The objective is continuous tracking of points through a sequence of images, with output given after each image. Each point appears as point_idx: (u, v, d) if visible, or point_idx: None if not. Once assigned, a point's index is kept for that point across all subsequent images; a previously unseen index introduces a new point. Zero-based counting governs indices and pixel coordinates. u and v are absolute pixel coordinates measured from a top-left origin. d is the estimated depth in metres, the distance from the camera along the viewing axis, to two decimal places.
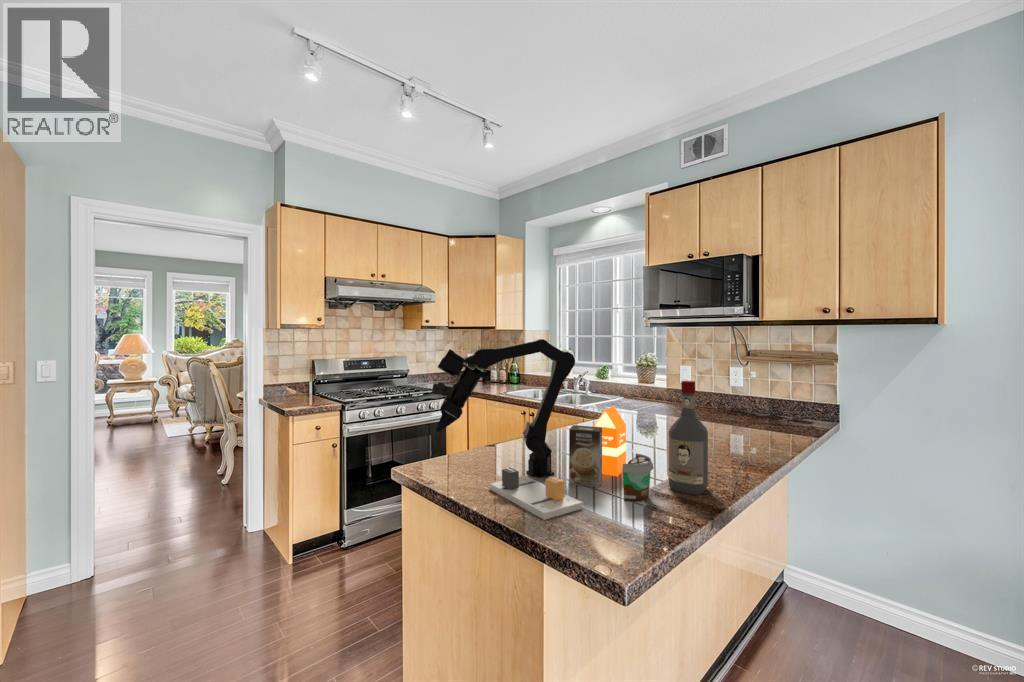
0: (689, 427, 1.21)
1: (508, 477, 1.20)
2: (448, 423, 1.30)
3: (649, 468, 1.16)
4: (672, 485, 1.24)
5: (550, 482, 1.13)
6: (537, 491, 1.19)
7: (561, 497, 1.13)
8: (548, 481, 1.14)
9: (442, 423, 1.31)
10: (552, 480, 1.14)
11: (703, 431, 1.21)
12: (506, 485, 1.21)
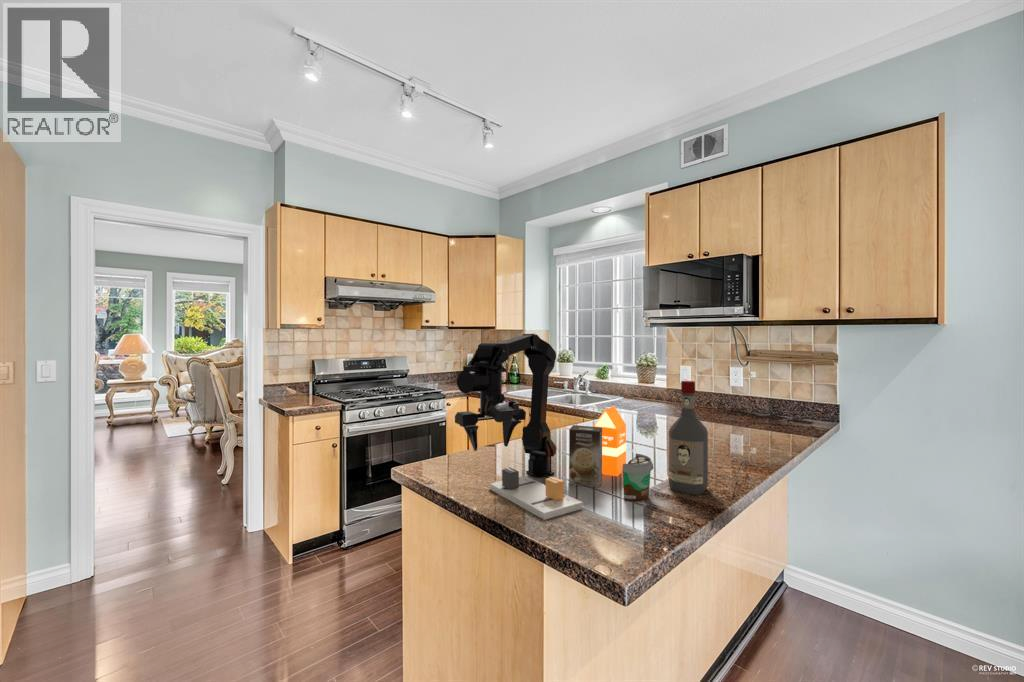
0: (689, 427, 1.21)
1: (508, 477, 1.20)
2: None
3: (649, 468, 1.16)
4: (672, 485, 1.24)
5: (550, 482, 1.13)
6: (537, 491, 1.19)
7: (561, 497, 1.13)
8: (548, 481, 1.14)
9: None
10: (552, 480, 1.14)
11: (703, 431, 1.21)
12: (506, 485, 1.21)
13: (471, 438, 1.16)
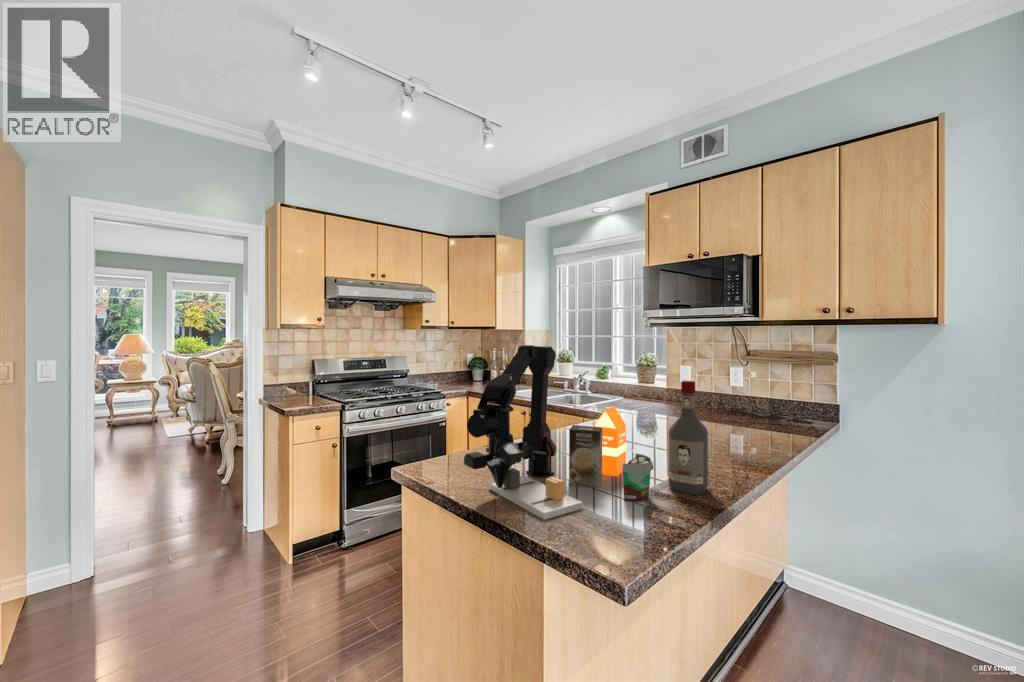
0: (689, 427, 1.21)
1: (509, 477, 1.21)
2: None
3: (649, 468, 1.16)
4: (672, 485, 1.24)
5: (550, 482, 1.13)
6: (537, 491, 1.19)
7: (561, 497, 1.13)
8: (548, 481, 1.14)
9: None
10: (552, 480, 1.14)
11: (703, 431, 1.21)
12: (507, 485, 1.21)
13: (495, 476, 1.20)
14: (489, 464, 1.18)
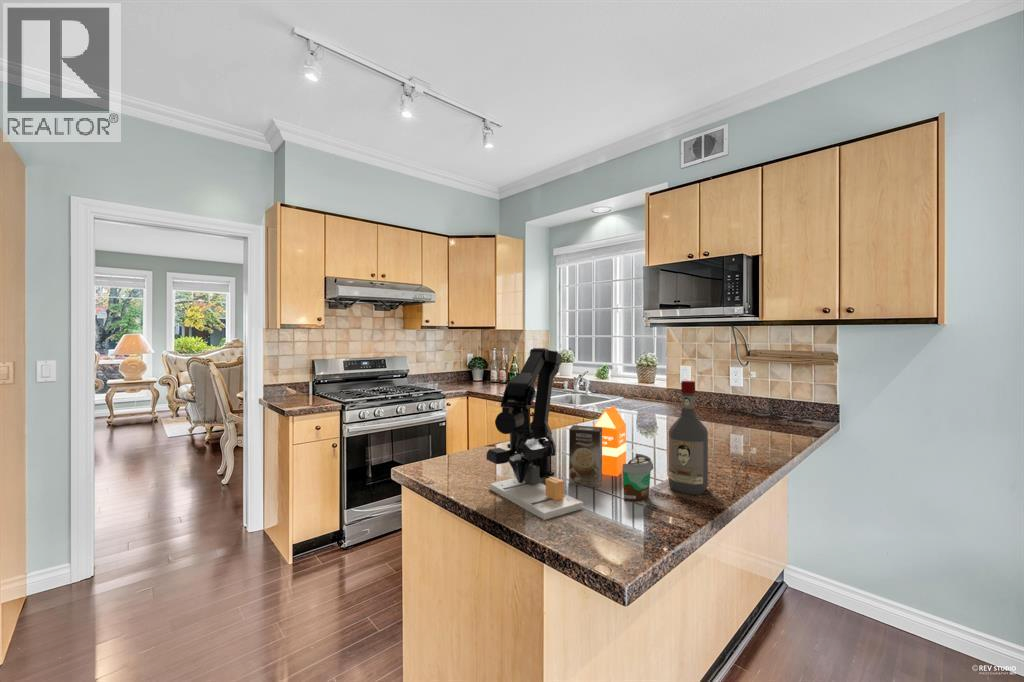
0: (689, 427, 1.21)
1: (529, 472, 1.24)
2: None
3: (649, 468, 1.16)
4: (672, 485, 1.24)
5: (550, 482, 1.13)
6: (537, 491, 1.19)
7: (561, 497, 1.13)
8: (548, 481, 1.14)
9: None
10: (552, 480, 1.14)
11: (703, 431, 1.21)
12: (527, 480, 1.25)
13: (516, 471, 1.23)
14: (511, 459, 1.21)
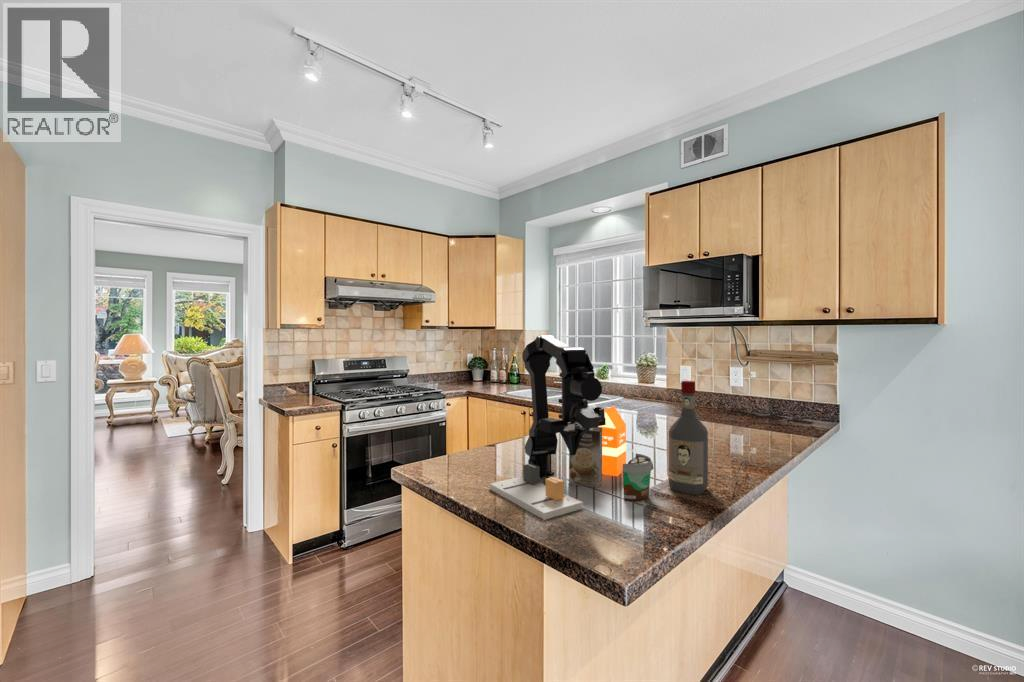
0: (689, 427, 1.21)
1: (529, 472, 1.24)
2: None
3: (649, 468, 1.16)
4: (672, 485, 1.24)
5: (550, 482, 1.13)
6: (537, 491, 1.19)
7: (561, 497, 1.13)
8: (548, 481, 1.14)
9: None
10: (552, 480, 1.14)
11: (703, 431, 1.21)
12: (527, 480, 1.25)
13: (569, 443, 1.17)
14: (564, 430, 1.15)
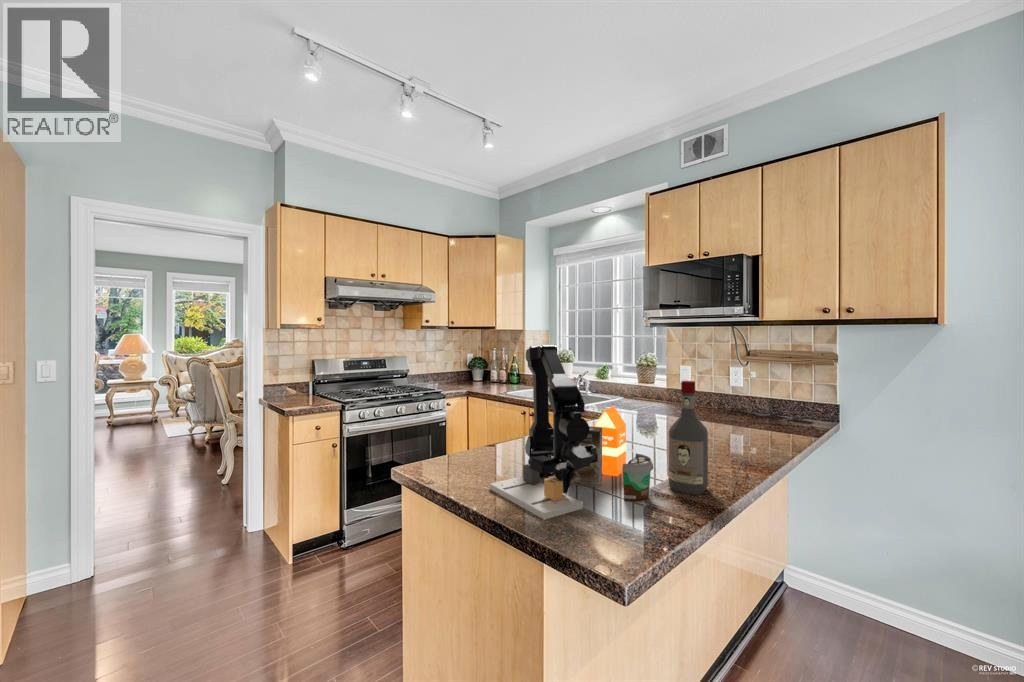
0: (689, 427, 1.21)
1: (529, 472, 1.24)
2: None
3: (649, 468, 1.16)
4: (672, 485, 1.24)
5: (549, 482, 1.13)
6: (537, 491, 1.19)
7: (560, 497, 1.12)
8: (547, 481, 1.14)
9: None
10: (551, 480, 1.13)
11: (703, 431, 1.21)
12: (527, 480, 1.25)
13: None
14: (555, 468, 1.13)
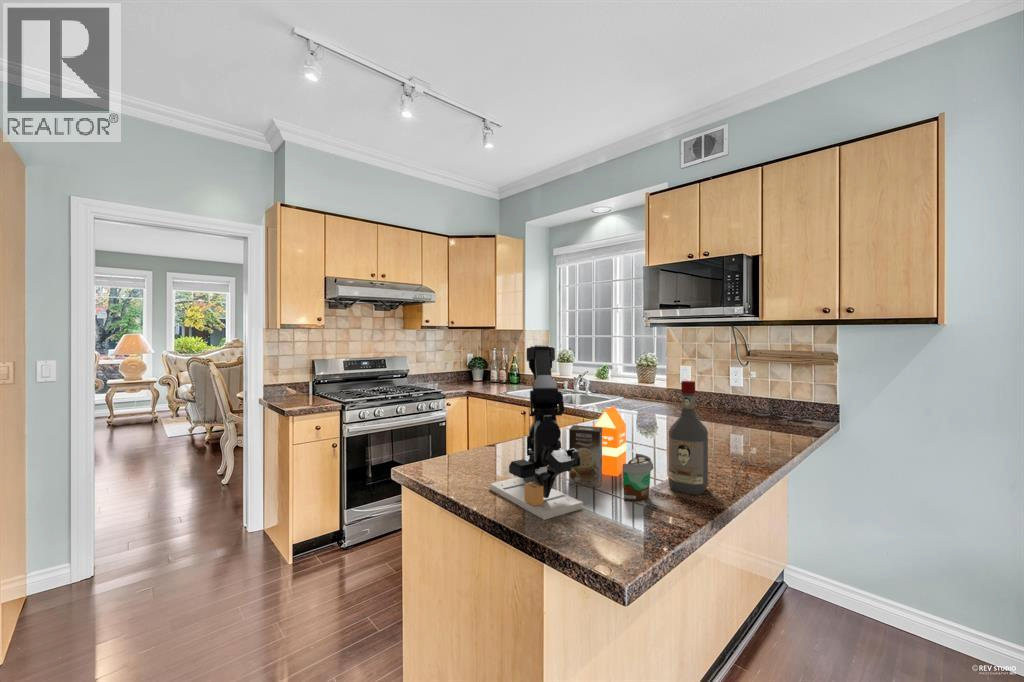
0: (689, 427, 1.21)
1: None
2: None
3: (649, 468, 1.16)
4: (672, 485, 1.24)
5: (529, 487, 1.10)
6: None
7: (540, 503, 1.09)
8: (527, 486, 1.10)
9: None
10: (531, 485, 1.10)
11: (703, 431, 1.21)
12: (527, 480, 1.25)
13: None
14: (536, 472, 1.10)
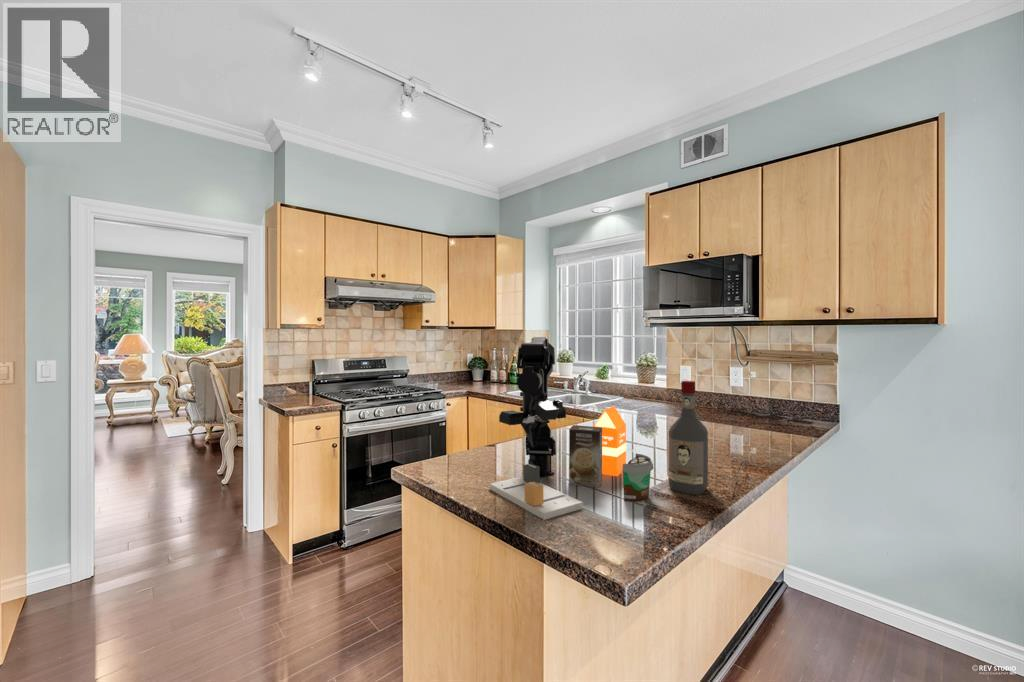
0: (689, 427, 1.21)
1: (529, 472, 1.24)
2: None
3: (649, 468, 1.16)
4: (672, 485, 1.24)
5: (529, 487, 1.10)
6: None
7: (540, 503, 1.09)
8: (527, 486, 1.10)
9: None
10: (531, 485, 1.10)
11: (703, 431, 1.21)
12: (527, 480, 1.25)
13: (529, 434, 1.21)
14: (524, 422, 1.19)
